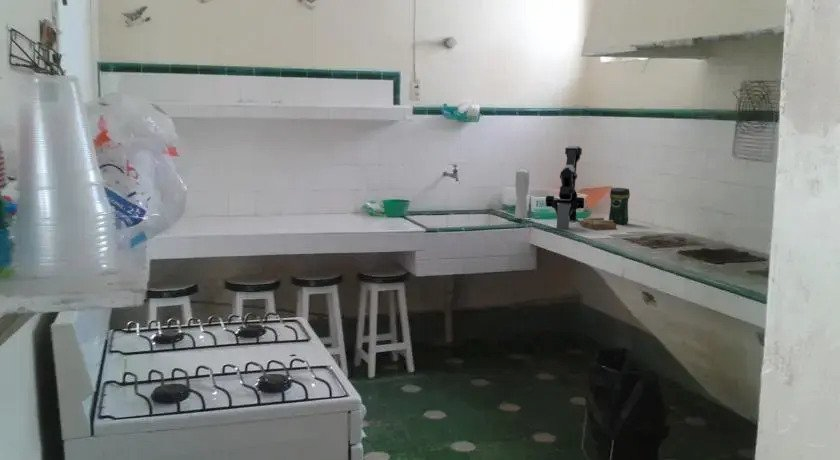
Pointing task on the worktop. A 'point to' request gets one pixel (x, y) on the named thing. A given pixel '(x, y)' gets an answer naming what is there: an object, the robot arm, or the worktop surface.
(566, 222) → the tall grey pillar block
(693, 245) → the worktop surface
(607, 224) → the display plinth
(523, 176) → the white waisted cylinder
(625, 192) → the coffee jar
